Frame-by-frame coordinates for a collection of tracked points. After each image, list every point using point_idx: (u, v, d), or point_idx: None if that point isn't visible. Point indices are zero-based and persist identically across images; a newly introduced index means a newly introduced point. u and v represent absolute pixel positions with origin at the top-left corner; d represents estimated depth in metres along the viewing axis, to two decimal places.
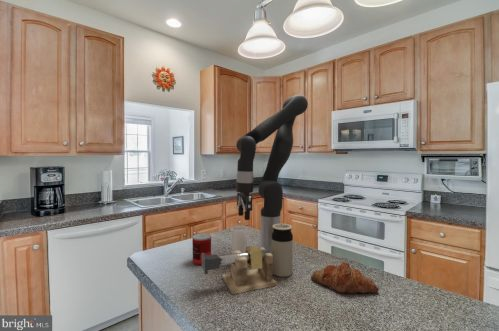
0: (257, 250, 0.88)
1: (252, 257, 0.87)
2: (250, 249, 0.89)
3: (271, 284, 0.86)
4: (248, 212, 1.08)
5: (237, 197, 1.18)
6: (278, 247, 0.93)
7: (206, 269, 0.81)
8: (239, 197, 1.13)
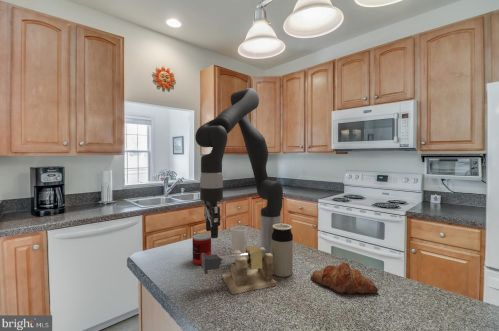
0: (257, 250, 0.88)
1: (252, 257, 0.87)
2: (250, 249, 0.89)
3: (271, 284, 0.86)
4: (215, 228, 0.79)
5: (204, 206, 0.90)
6: (278, 247, 0.93)
7: (206, 269, 0.81)
8: (205, 207, 0.85)
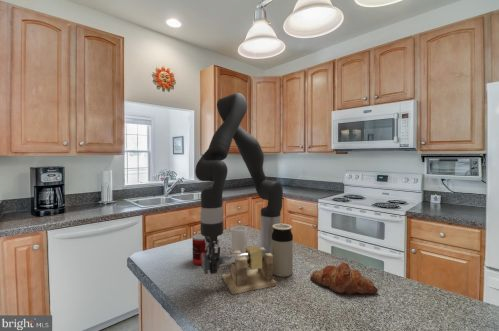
0: (257, 250, 0.88)
1: (252, 257, 0.87)
2: (250, 249, 0.89)
3: (271, 284, 0.86)
4: (214, 264, 0.82)
5: (205, 242, 0.89)
6: (278, 247, 0.93)
7: (206, 269, 0.81)
8: (205, 240, 0.85)
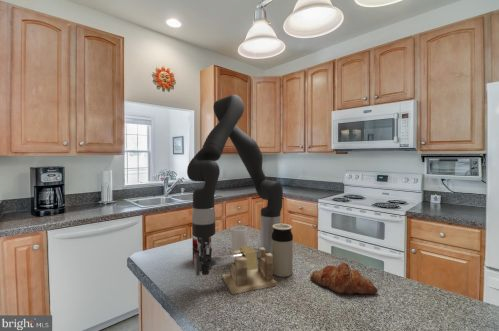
0: (252, 251, 0.88)
1: (247, 258, 0.86)
2: (245, 250, 0.89)
3: (271, 284, 0.86)
4: (206, 265, 0.81)
5: None
6: (278, 247, 0.93)
7: (198, 270, 0.80)
8: (197, 241, 0.84)
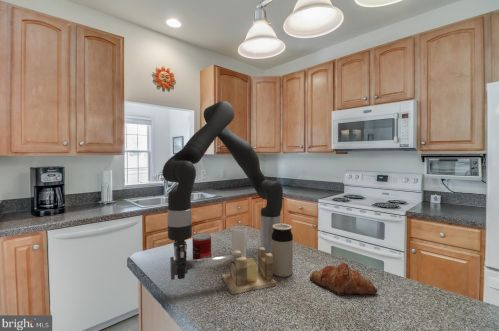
0: (252, 263, 0.88)
1: (247, 270, 0.86)
2: None
3: (271, 284, 0.86)
4: (181, 269, 0.78)
5: None
6: (278, 247, 0.93)
7: (173, 274, 0.78)
8: (173, 244, 0.81)
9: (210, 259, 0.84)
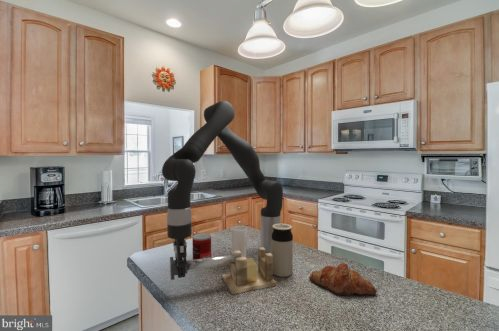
0: (252, 263, 0.88)
1: (247, 270, 0.86)
2: None
3: (271, 284, 0.86)
4: (182, 267, 0.76)
5: None
6: (278, 247, 0.93)
7: (172, 274, 0.78)
8: (173, 243, 0.81)
9: (210, 259, 0.84)
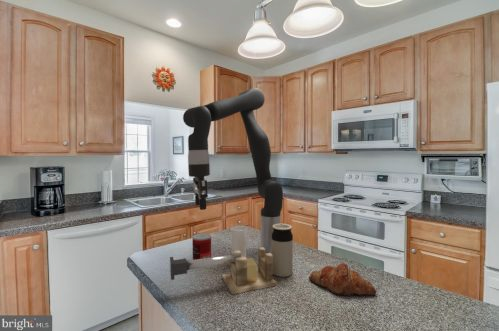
0: (252, 263, 0.88)
1: (247, 270, 0.86)
2: None
3: (271, 284, 0.86)
4: (203, 200, 0.87)
5: (193, 183, 0.97)
6: (278, 247, 0.93)
7: (172, 274, 0.78)
8: (193, 182, 0.92)
9: (210, 259, 0.84)
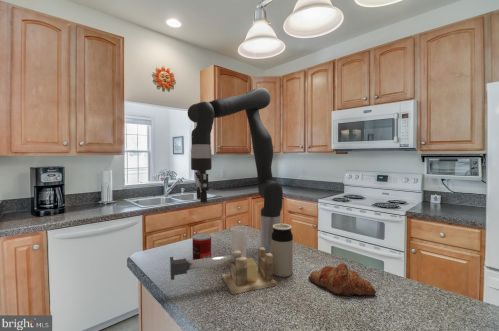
0: (252, 263, 0.88)
1: (247, 270, 0.86)
2: None
3: (271, 284, 0.86)
4: (204, 193, 0.89)
5: (195, 177, 0.99)
6: (278, 247, 0.93)
7: (172, 274, 0.78)
8: (195, 176, 0.94)
9: (210, 259, 0.84)
